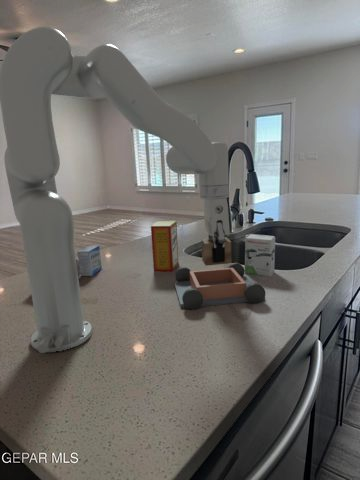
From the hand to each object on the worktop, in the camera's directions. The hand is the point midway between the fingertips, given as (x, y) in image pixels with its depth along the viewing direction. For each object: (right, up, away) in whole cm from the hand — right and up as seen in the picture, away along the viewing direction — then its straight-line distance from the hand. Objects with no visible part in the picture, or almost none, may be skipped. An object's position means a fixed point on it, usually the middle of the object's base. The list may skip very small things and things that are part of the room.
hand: (216, 258), depth 91 cm
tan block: (0, -1, 0) cm, 1 cm away
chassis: (0, -10, +2) cm, 10 cm away
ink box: (+16, -6, +16) cm, 23 cm away
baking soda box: (-15, -5, +26) cm, 30 cm away
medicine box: (-40, -6, +25) cm, 48 cm away
